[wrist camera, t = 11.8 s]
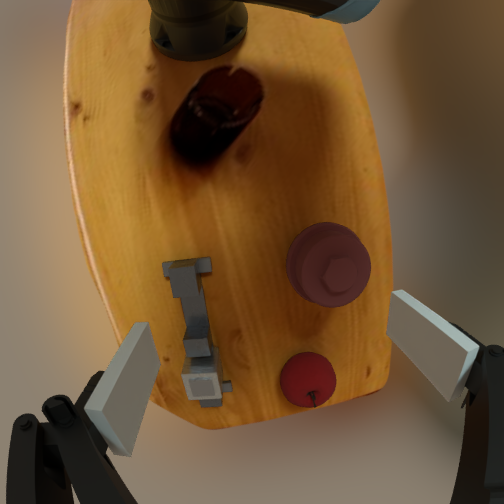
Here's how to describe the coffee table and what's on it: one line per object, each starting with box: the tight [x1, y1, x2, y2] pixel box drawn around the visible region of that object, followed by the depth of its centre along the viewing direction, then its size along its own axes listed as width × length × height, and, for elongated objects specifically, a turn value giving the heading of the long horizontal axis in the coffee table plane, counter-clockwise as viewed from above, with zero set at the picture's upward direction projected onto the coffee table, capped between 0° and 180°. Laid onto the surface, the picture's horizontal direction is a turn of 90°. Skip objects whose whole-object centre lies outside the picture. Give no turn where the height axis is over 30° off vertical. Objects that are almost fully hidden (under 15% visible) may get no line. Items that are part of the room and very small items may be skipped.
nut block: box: [181, 347, 223, 400], centre depth 39 cm, size 5×5×7 cm
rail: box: [162, 257, 233, 407], centre depth 39 cm, size 24×7×4 cm, turn 6°
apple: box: [280, 352, 336, 408], centre depth 40 cm, size 9×9×10 cm
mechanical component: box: [286, 222, 371, 307], centre depth 34 cm, size 12×10×10 cm
